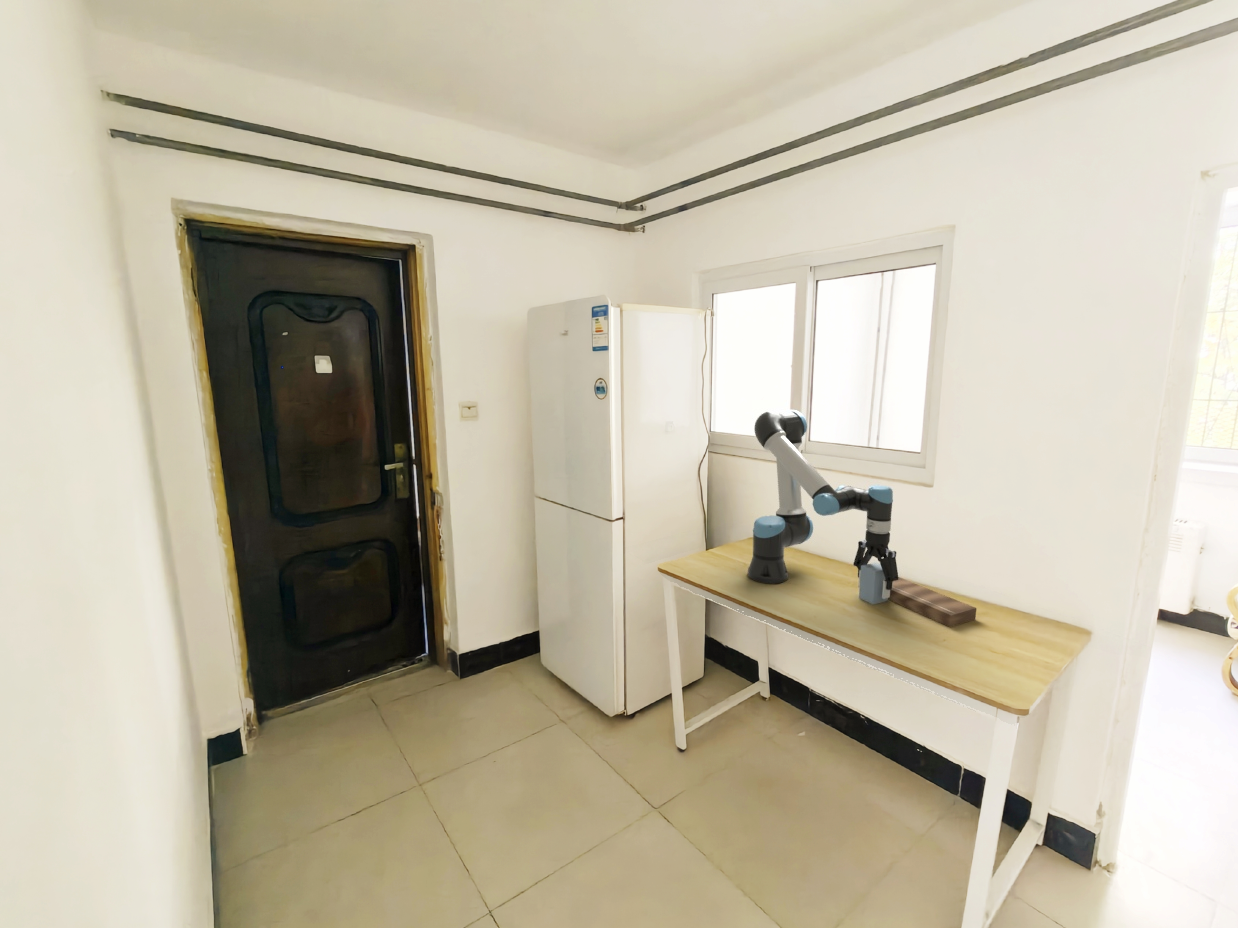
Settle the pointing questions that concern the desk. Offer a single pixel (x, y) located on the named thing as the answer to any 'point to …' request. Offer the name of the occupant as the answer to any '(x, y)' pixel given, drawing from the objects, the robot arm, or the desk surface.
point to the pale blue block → (871, 583)
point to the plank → (931, 603)
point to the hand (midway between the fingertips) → (873, 592)
